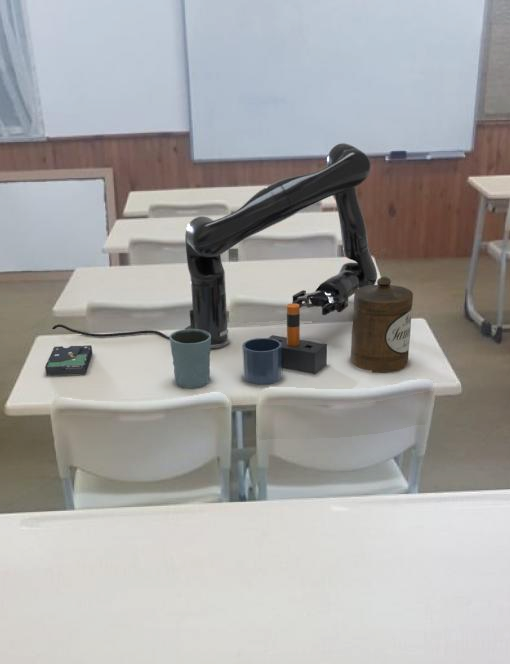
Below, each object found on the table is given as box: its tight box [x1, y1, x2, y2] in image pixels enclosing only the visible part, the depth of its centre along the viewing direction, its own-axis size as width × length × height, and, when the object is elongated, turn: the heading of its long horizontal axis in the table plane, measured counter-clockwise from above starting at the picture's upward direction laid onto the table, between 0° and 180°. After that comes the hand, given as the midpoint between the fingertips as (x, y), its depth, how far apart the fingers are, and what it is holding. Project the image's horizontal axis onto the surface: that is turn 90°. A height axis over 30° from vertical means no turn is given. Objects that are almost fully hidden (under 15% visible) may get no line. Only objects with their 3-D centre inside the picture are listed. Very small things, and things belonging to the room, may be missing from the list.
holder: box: [268, 334, 328, 375], centre depth 218 cm, size 16×7×6 cm, turn 61°
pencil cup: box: [241, 337, 283, 386], centre depth 210 cm, size 10×10×9 cm
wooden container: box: [350, 276, 414, 373], centre depth 214 cm, size 15×15×22 cm
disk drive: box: [44, 344, 93, 377], centre depth 223 cm, size 10×3×15 cm
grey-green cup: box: [169, 328, 211, 389], centre depth 209 cm, size 10×10×12 cm
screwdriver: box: [286, 302, 301, 346], centre depth 215 cm, size 3×3×16 cm
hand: (308, 309), depth 219 cm, fingers open, 8 cm apart
